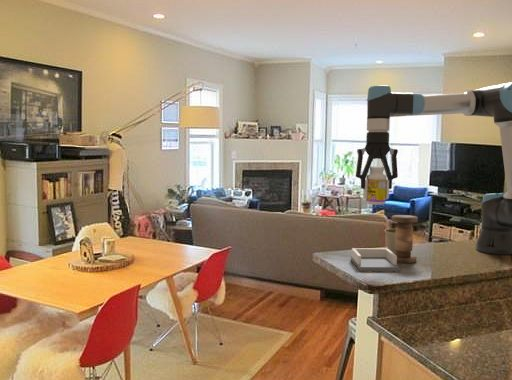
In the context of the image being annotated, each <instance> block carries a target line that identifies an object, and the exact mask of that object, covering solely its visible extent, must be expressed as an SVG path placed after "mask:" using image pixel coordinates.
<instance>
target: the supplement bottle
mask: <svg viewBox="0 0 512 380" xmlns="http://www.w3.org/2000/svg"><path fill="white" fill-rule="evenodd" d="M369 172H370V173H367V176H366V180H368V187H367V199H365V202H366V204H368V205H374V206H375V205H376V206H380V205H382V206H383V205H385V204H386V200H387V199H386V180H387V176H386V174H384V172H385V170H384V166H370V168H369Z"/></svg>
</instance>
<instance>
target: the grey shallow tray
mask: <svg viewBox="0 0 512 380" xmlns="http://www.w3.org/2000/svg"><path fill="white" fill-rule="evenodd" d="M350 255H351V256H350V261H351V260H352V261H351V262H352V263H353V265H354V266H355V265H356V266H357V267H356V266H355V267H356V268H357V270H358V271H359V270H360V271H383V273H385V272H387V273H388V272H389V273H390V272H392V273H395V272H397V273H398V272H399V273H400V268H401V267H400V266H399V265H398V264H397V256H396V255H395V254H394V253H393V252H391V251H390V250H389V249H388V247H387V248H386V247H385V248H383V247H382V248H379V247H378V248H374V247H373V248H372V247H371V248H369V247H367V248H365V247H361V248H360V247H358V248H357V247H356V248H355V247H353V248H351V253H350ZM360 271H359V272H360ZM393 271H394V272H393Z"/></svg>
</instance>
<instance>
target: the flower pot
mask: <svg viewBox="0 0 512 380" xmlns="http://www.w3.org/2000/svg"><path fill="white" fill-rule="evenodd" d="M384 232H385V233H384V234H385V235H386V243H387V245H386V246H387V248H388V249H389V250H390V251H391V252H393V253H394V254H396V251H397V250H395V236H396V228H387V229H384Z"/></svg>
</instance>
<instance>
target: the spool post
mask: <svg viewBox="0 0 512 380" xmlns="http://www.w3.org/2000/svg"><path fill="white" fill-rule="evenodd" d="M418 219H419V217H418V216H416V215H409V214H408V215H407V214H406V215H405V214H395V215H392V216H391V221H392V222H395V223H396V225H397V226H395V229H396V236H395V250H397V251H396V254H395V255H396V256H397V263H398V264H414V263H417V255H413V254H412V251H413V247H414V246H413V241H414V227H412V224H414V223H415V224H416V223H418V221H419V220H418Z"/></svg>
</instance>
